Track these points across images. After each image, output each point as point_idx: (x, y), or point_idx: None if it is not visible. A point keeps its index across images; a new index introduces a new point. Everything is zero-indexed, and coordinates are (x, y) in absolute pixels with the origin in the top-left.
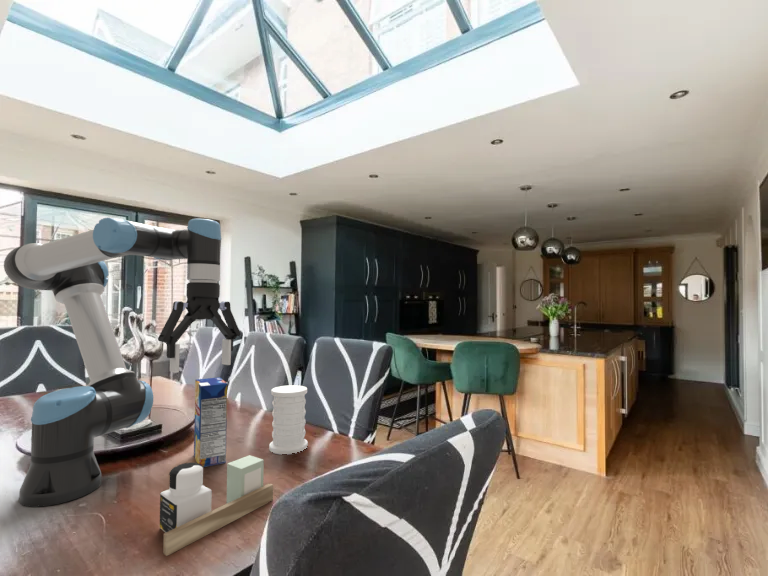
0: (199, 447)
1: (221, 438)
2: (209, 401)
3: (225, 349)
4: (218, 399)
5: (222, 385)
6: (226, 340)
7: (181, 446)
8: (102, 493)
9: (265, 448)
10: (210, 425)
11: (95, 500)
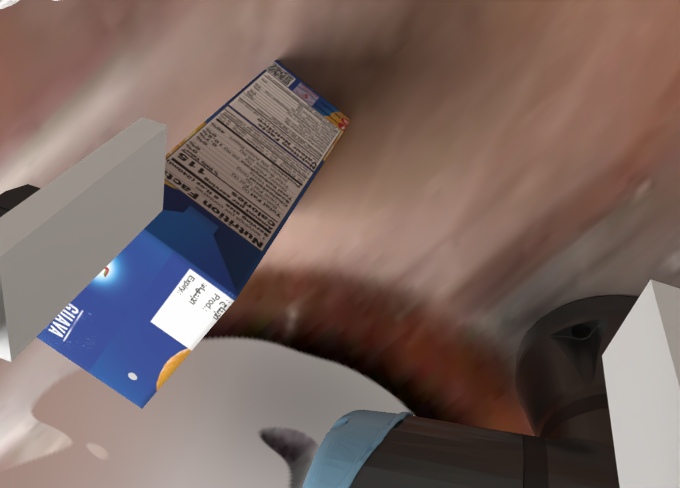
0: (330, 151)
1: (256, 104)
2: (233, 219)
3: (81, 239)
4: (193, 192)
5: None
6: (11, 287)
7: (242, 294)
8: (600, 264)
9: (103, 3)
10: (271, 160)
11: (646, 248)
